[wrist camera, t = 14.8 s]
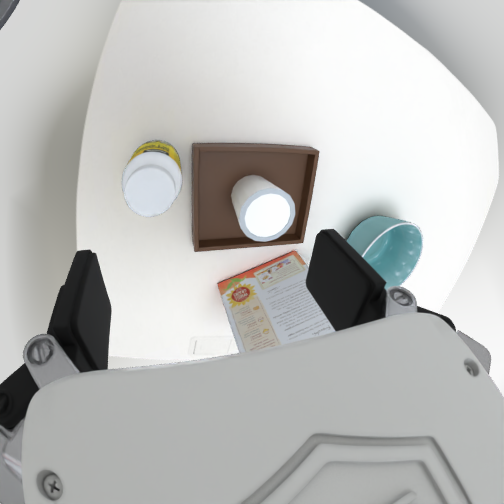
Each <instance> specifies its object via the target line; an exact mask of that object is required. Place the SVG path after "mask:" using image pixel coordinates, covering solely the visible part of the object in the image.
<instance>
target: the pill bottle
mask: <svg viewBox="0 0 504 504" xmlns="http://www.w3.org/2000/svg"><path fill="white" fill-rule="evenodd" d="M181 186H182V173H181V166H180V158H179V155H178V153H177V151H176V149H175V148H174V147H173V146H172V145H171V144H169V143H167V142H165V141H161V140H152V141H148V142H146V143H144V144H142V145H141V146H140V147H139V148H138V149H137V150H136V151H135V152H134V154H133V156H132V157H131V159H130V161H129V162H128V164H127V166H126V168H125V170H124V172H123V176H122V189H123V193H124V196H125V200H126V203H127V205H128V206H129V208H130V209H131V210H132V211H133V212H135V213H136V214H138V215H141V216H145V217H154V216H158V215H160V214H162V213H164V212H165V211H167V210H168V209H169V207H170V206H171V205H172V203H173V202H174V201H175V199H176V198H177V196H178V195H179V193H180V190H181Z"/></svg>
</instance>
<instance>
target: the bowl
mask: <svg viewBox="0 0 504 504" xmlns="http://www.w3.org/2000/svg"><path fill="white" fill-rule="evenodd" d="M347 242H348V243H349V244H350V245H351V246H352V247H353V248H354V249H355V250H356V251H357V252H358V253H359V254H360V255H361V256H362V257H363V258H364V259H365V260H366V261H367V262H368V263H369V264H370V265H371V266H372V267H373V268H374V270H375V271H376V272H377V273H378V274H379V275H380V276H381V277H382V278H383V279H384V280H385V281H386V282H387V283H386V285H385V287H384V288H385V289H386V290H387V289H388V288H389V287H391V286H400V285H401V284H402V283H404V282H405V280H406V279H407V278H408V277H409V276H410V275H411V273H412V272H413V270H414V269H415V267H416V265H417V263H418V261H419V259H420V256H421V253H422V248H423V235H422V232H421V230H420V228H419V227H418V226H417V225H415V224H413V223H411V222H407V221H403V220H399V219H395V218H390V217H384V216H373V217H370V218H368V219H366V220H364V221H362V222H361V223H360V224H359V225H358V226H357V227H356V228H355V229H354V230H353V231H352V233H351V234H350V236H349V238H348V240H347Z"/></svg>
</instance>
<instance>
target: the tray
mask: <svg viewBox="0 0 504 504" xmlns="http://www.w3.org/2000/svg"><path fill="white" fill-rule="evenodd" d="M318 157H319V151H318V150H316V149H314V148H312V147H305V146H292V145H276V144H253V143H193V144H192V232H193V246H194V251H195V252H198V251H199V252H200V251H211V250H224V249H236V248H248V247H260V246H273V245H285V244H298V243H303V241H304V236H305V231H306V226H307V220H308V215H309V210H310V204H311V199H312V193H313V187H314V181H315V176H316V169H317V163H318ZM249 175H257V176H261V177H263V178H264V179H266V180H267V181H269V182H271V183H272V184H274V185H275V186H277V187H278V188H280V189H281V190H283V191H284V192H286V193H287V194H289V195H290V196H291V198H292V200H293V202H294V204H295V217H294V220H293V223H292V225H291V226H290V227H289V229H288V230H287V231H286V232H285V233H284V234H283V235H281V236H280V237H278V238H277V239H274V240H270V241H266V242H263V241H255V240H253V239H251V238H249V237H247V236H246V235H245V233H244V232H243V231H242V229H241V228H240V225H239V222H238V218H237V215H236V212H235V209H234V206H233V203H232V198H231V194H232V190H233V187H234V186H235V184H236V183H237V181H239V180H240V179H242V178H243V177H245V176H249Z"/></svg>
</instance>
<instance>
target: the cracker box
mask: <svg viewBox="0 0 504 504" xmlns="http://www.w3.org/2000/svg"><path fill="white" fill-rule="evenodd" d="M308 269H309V268H308V266H307V265H306V264H305V262H304V261H303V260H302V258H301V257H300V256H299V254H298V253H297V252H296V251H293V252H291V253H288V254H286V255H284V256H282V257H279V258H277V259H275V260H272V261H270V262H268V263H266V264H263V265H261V266H258V267H256V268H254V269H251V270H249V271H247V272H244V273H242V274H240V275H237V276H235V277H232V278H230V279H228V280H225V281H223V282H220V283H218V288H219V291H220V295H221V298H222V301H223V304H224V307H225V310H226V314H227V317H228V320H229V323H230V326H231V329H232V332H233V335H234V338H235V341H236V344H237V347H238V350H239V353H243V352H248V351H253V350H259V349H264V348H268V347H273V346H278V345H283V344H287V343H292V342H296V341H300V340H304V339H309V338H313V337H317V336H321V335H325V334H329V333H332V332H336V331H335V330H334V328H333V327H332V325H331V324H330V322H329V320H328V319H327V317H326V316H325V314H324V313H323V311H322V310H321V308H320V307H319V305H318V304H317V302H316V301H315V299H314V298H313V296H312V295H311V293H310V292H309V290H308V289H307V287H306V277H307V273H308Z"/></svg>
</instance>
